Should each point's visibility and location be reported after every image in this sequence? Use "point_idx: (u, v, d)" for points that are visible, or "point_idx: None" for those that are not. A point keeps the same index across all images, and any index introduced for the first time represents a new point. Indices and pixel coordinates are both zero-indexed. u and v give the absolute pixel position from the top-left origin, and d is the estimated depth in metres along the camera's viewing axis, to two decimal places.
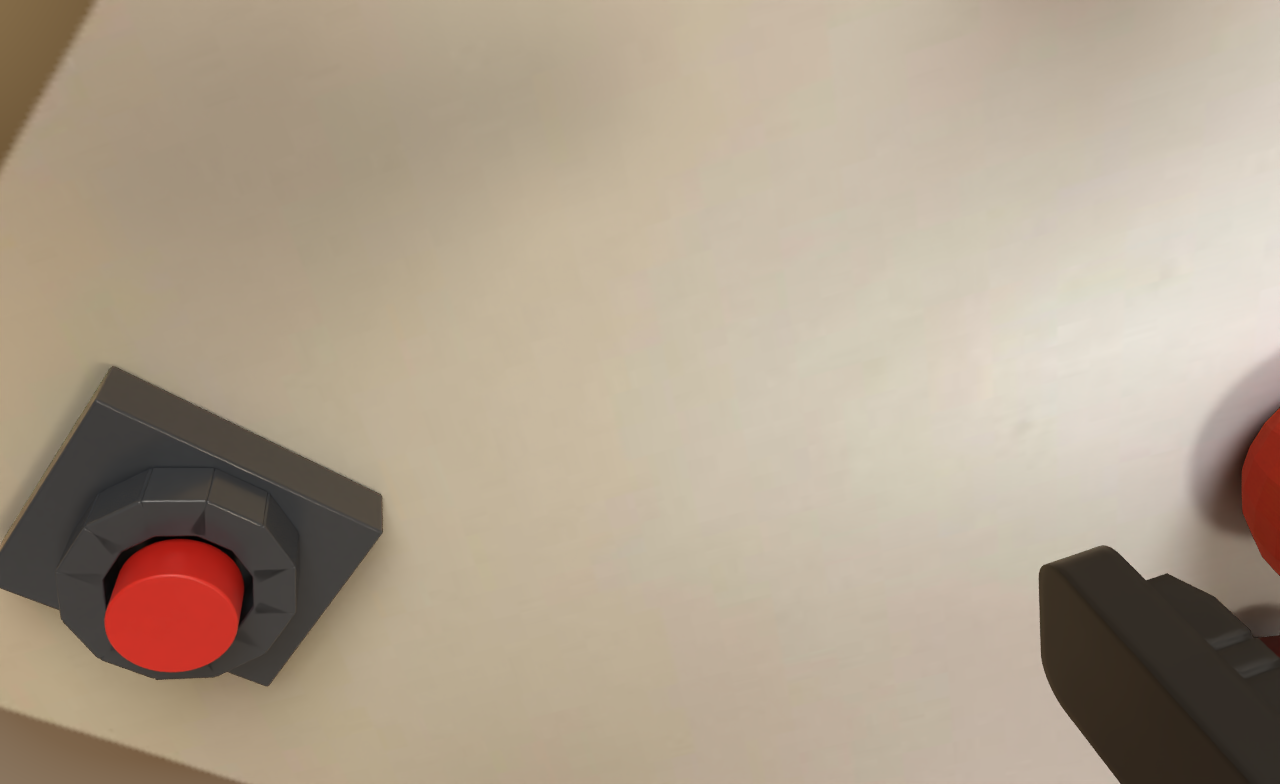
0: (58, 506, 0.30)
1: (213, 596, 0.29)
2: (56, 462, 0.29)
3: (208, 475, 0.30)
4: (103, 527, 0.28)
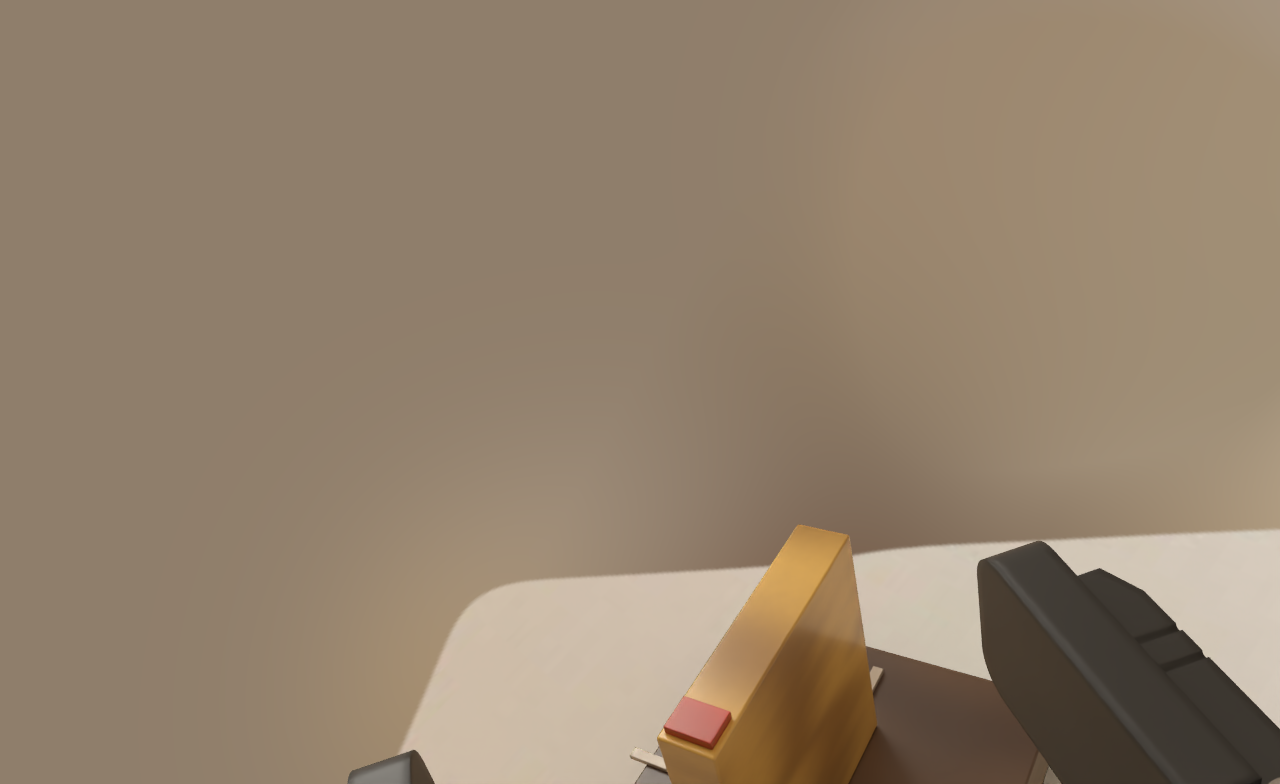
0: None
1: None
2: None
3: None
4: None
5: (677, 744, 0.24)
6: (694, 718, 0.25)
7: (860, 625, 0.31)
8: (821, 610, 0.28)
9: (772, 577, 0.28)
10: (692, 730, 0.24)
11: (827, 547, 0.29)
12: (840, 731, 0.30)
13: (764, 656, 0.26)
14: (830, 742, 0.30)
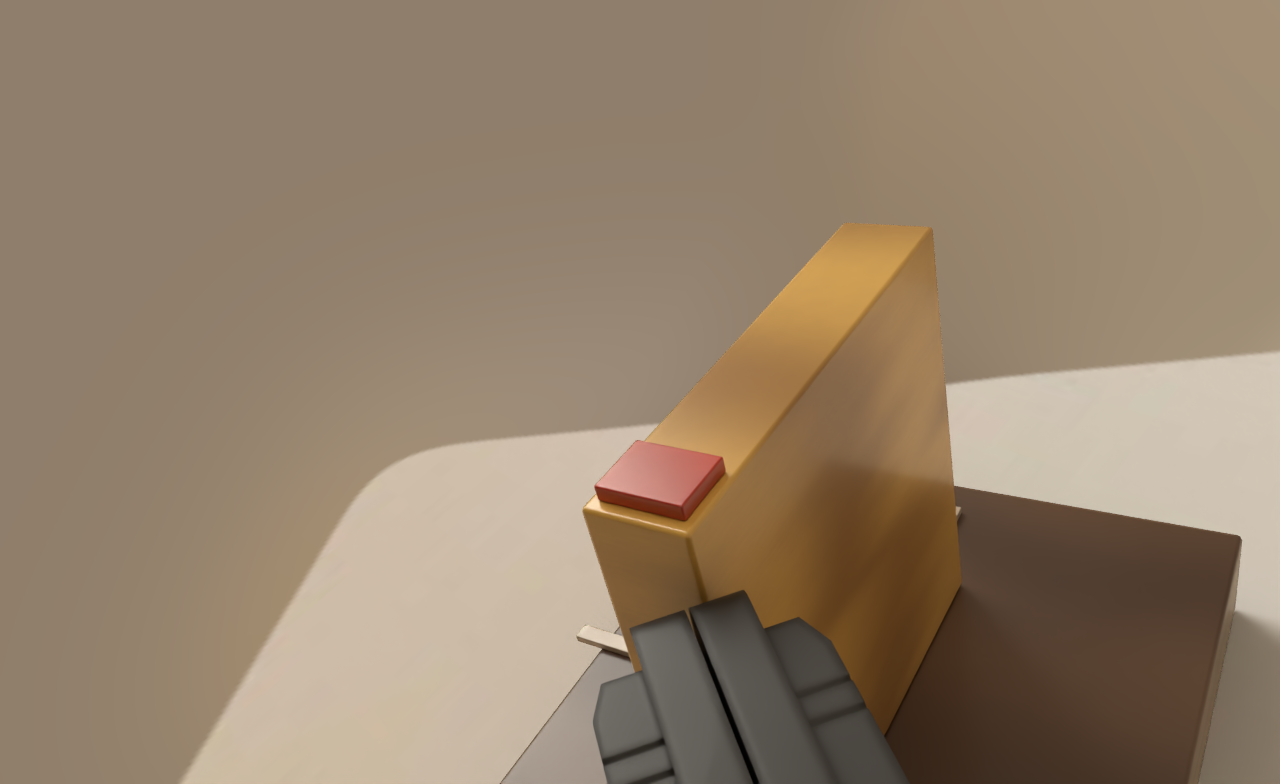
0: None
1: None
2: None
3: None
4: None
5: (619, 516, 0.13)
6: (653, 470, 0.13)
7: (944, 401, 0.19)
8: (887, 337, 0.16)
9: (801, 284, 0.17)
10: (648, 488, 0.13)
11: (894, 243, 0.17)
12: (910, 571, 0.19)
13: (788, 383, 0.14)
14: (896, 584, 0.18)
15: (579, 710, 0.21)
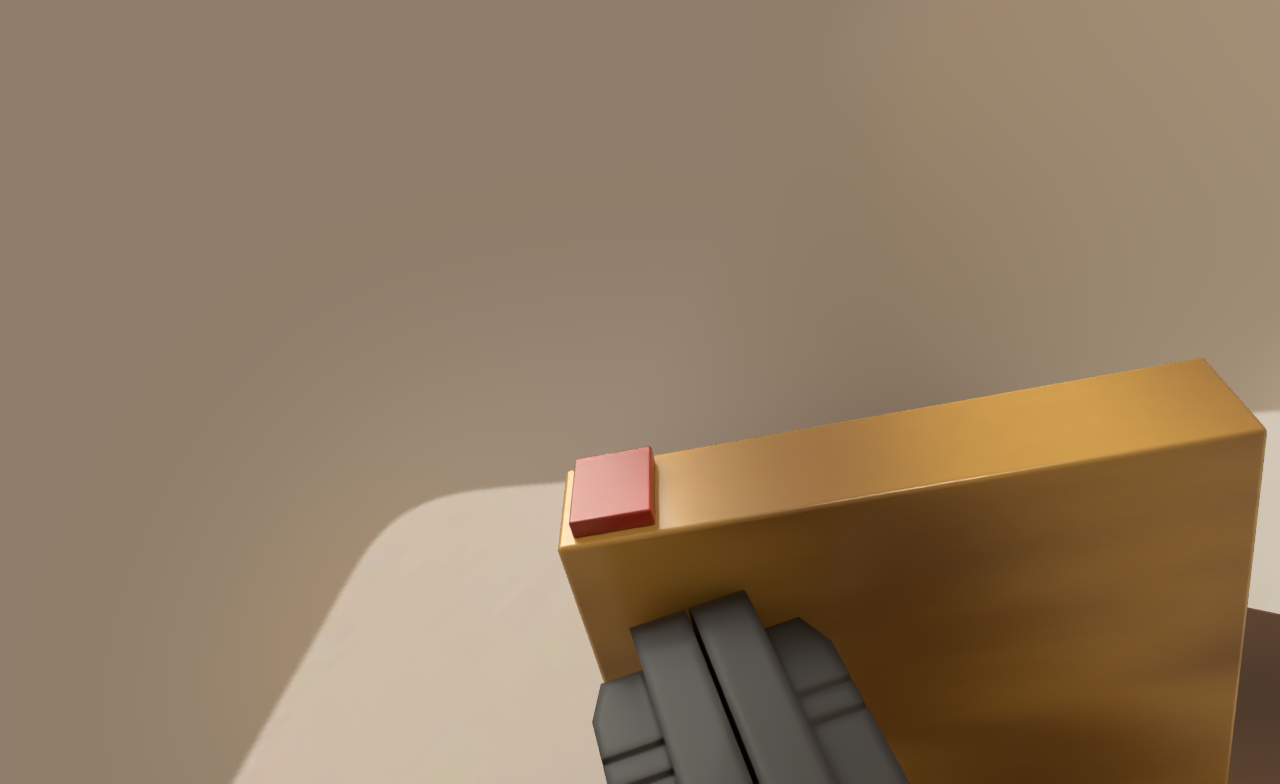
0: None
1: None
2: None
3: None
4: None
5: (564, 496, 0.13)
6: (610, 480, 0.13)
7: (1229, 650, 0.13)
8: (1063, 521, 0.12)
9: (1022, 400, 0.13)
10: (585, 490, 0.13)
11: (1186, 420, 0.12)
12: None
13: (820, 489, 0.12)
14: (1008, 779, 0.14)
15: None
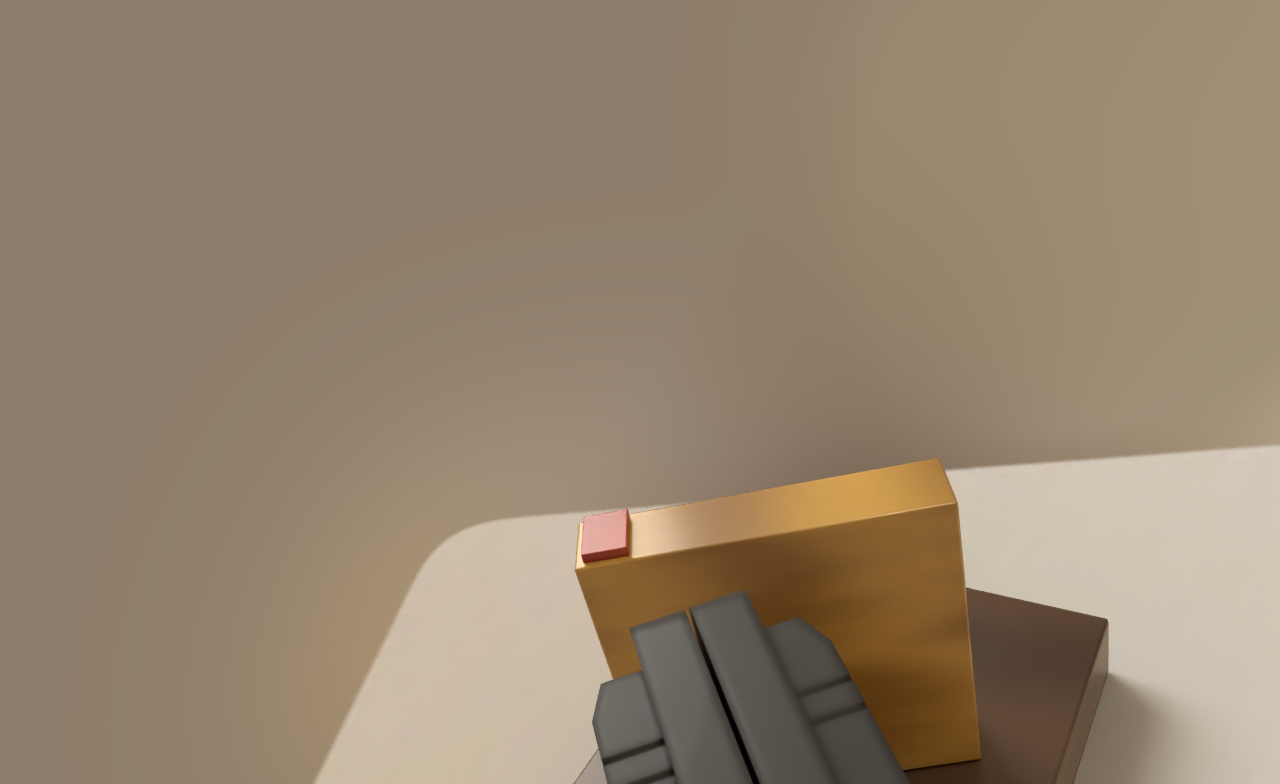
0: None
1: None
2: None
3: None
4: None
5: (578, 538, 0.23)
6: (604, 529, 0.23)
7: (960, 624, 0.23)
8: (854, 552, 0.22)
9: (837, 483, 0.22)
10: (589, 535, 0.23)
11: (919, 496, 0.21)
12: (871, 707, 0.24)
13: (720, 535, 0.22)
14: None
15: None
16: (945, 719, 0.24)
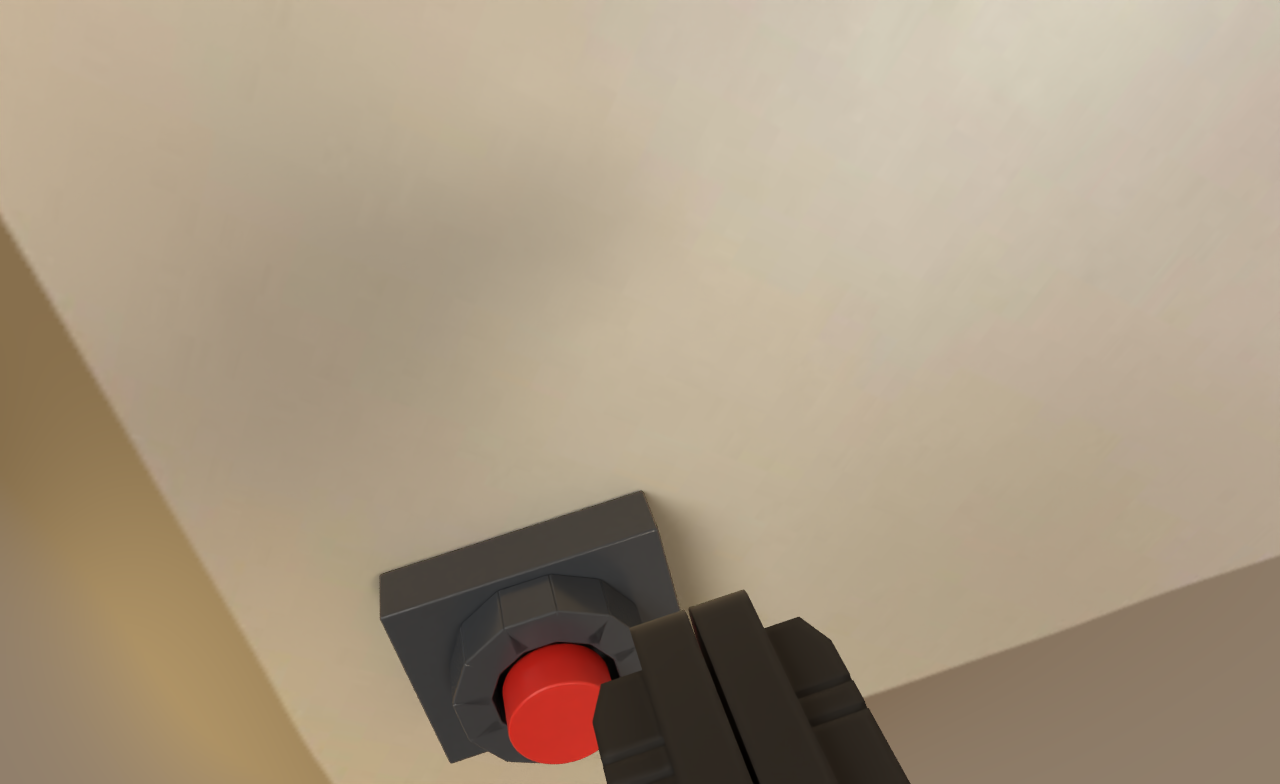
0: (438, 691, 0.34)
1: (569, 689, 0.31)
2: (405, 670, 0.33)
3: (495, 602, 0.32)
4: (463, 695, 0.32)
5: None
6: None
7: None
8: None
9: None
10: None
11: None
12: None
13: None
14: None
15: None
16: None
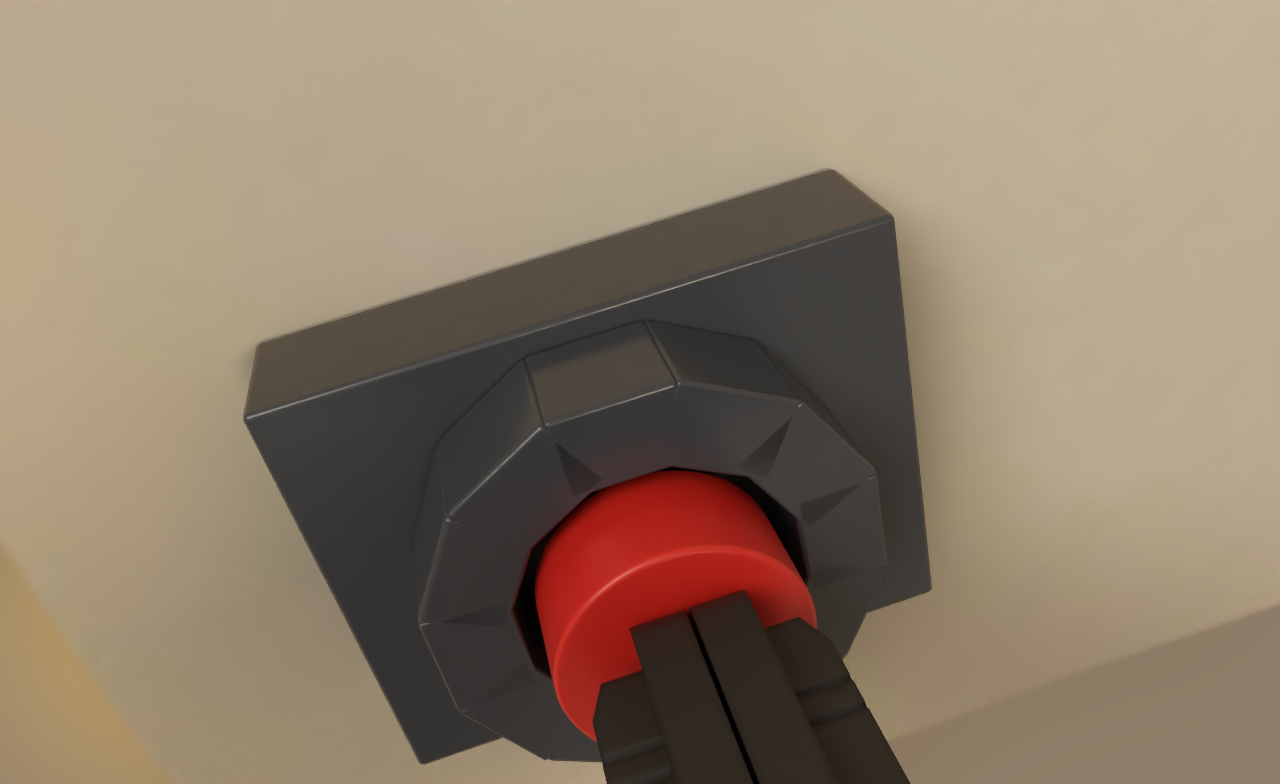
0: (389, 604, 0.15)
1: (707, 565, 0.12)
2: (312, 552, 0.15)
3: (520, 379, 0.13)
4: (444, 601, 0.13)
5: None
6: None
7: None
8: None
9: None
10: None
11: None
12: None
13: None
14: None
15: None
16: None
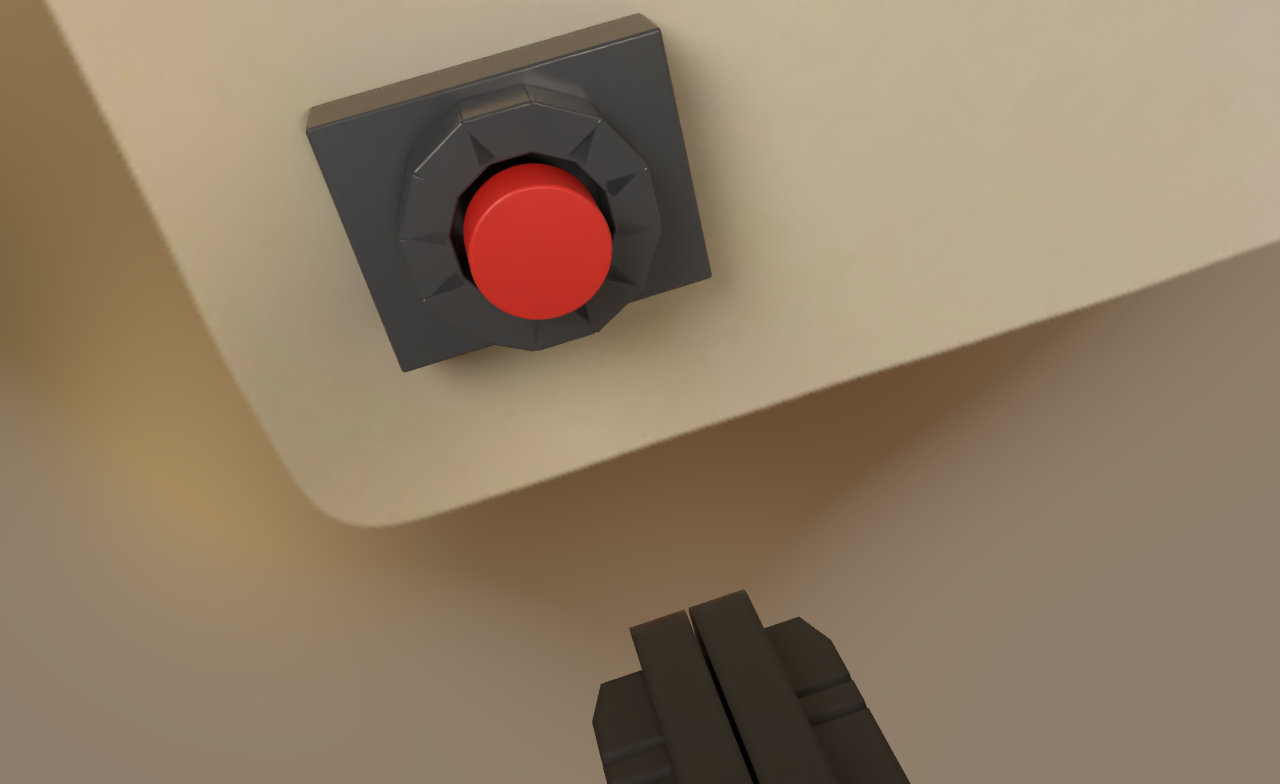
0: (384, 256, 0.27)
1: (546, 195, 0.24)
2: (341, 218, 0.26)
3: (453, 110, 0.25)
4: (412, 226, 0.25)
5: None
6: None
7: None
8: None
9: None
10: None
11: None
12: None
13: None
14: None
15: None
16: None
